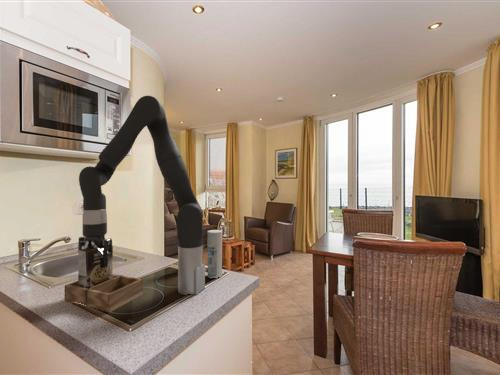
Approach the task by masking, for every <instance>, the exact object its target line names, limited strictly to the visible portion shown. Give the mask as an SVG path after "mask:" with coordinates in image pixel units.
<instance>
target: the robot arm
mask: <svg viewBox="0 0 500 375" xmlns="http://www.w3.org/2000/svg"><path fill="white" fill-rule="evenodd" d="M146 127H147V129H148V131H149V134H150V136H151V139H152V142H153V147H154V148H153V149H154V155H155V159H156V163H157V165H158V168H159V170H160V173H161V175H162V177H163V179H164V181H165V182H166V184H167V186H168V187H169V189H170V191H171V192H172V194H173V196H174V198H175V202H176V205H177V207H178V208H177V209H178V212H177V215H176V232H177V234H176V235H177V236H176V238H177V246H178V247H177V251H178V252H177V292H178V293H179V294H181V295H184V296H186V295H187V294H191V295H198V294H199V293H201V292H202V291H203V290H204V289H206V288H205V287H206V273H205V272H206V264H205V263H204V262H203V260H204V257H203V256H204V255H203V254H204V253H203V252H204V250H203V249H204V247H203V246H204V236H203V231H204V230H203V221H204V220H203V218H204V212H203V209H202V207H201V205H200V203H199V202H198V200H197V197H196V195H195V193H194V190H193V188H192V184H191V181H190V177H189V174H188V173H189V172H188V170H187V167H186V165H185V162H184V159H183V156H182V154H181V152H180V149H179V148H178V145H177V142H176V141H175V140H174V137H173V135H172V134H171V130H170V127H169V122H168V118H167V116H166V111H165V109H164V107H163V105H162V104H161V102H160V101H159V99H157V98H156V97H155V96H152V95H144V96H142V97H140V98H139V99H138V100H137V101H136V102H135V104H134V106H133V107H132V108H131V111H130V112H129V114H128V116H127V117H126V119H125V121H124V123H123V124H122V126H121V127H120V129H119V130H118V132H116V134H115V135H114V137H112V139H111V140H110V141H109V142H108V143H107V145H106V146H104V148H103V150H101V152H100V153H99V155H98V162H97V163H96V165H95V166H85V167H84V168H82V169H81V171H80V172H79V175H78V183H79V184H78V185H79V187H80V192H81V195H82V197H83V199H82V209H83V211H82V216H81V217H82V236H79V237H78V244H77V245H78V246H77V247H78V248H77V249H78V250H77V252H78V254H79V250H81V249H87V248H89V249H95V250H97V253H99V255H100V257H101V258H100V267H101V268H105V267H107V265H108V256H110V255H112V254H114V253H113V252H114V250H113V249H112V247H113V239H112V238H106V237H105V236H106V235H107V233H108V215H107V196H106V194H104V193H103V192H102V191H103V190H102V187H103V186H104V185H106V184H107V183H108V182H109V181H110V180H111V179H112V177H113V175H114V173H115V172H116V169H117V167H118V166H119V165H120V164H121V163H122V161H123V160H125V158H126V156H127V155H129V153H130V151H131V149H132V148H133V145H134V144H135V142H136V140H137V138H138V136H139V135H140V133H141V132H142V131H143V130H144V129H145V128H146ZM102 247H103V249H101V248H102ZM108 249H109V252H108ZM102 251H104V254H103V253H102Z"/></svg>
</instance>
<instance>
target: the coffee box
mask: <svg viewBox="0 0 500 375" xmlns="http://www.w3.org/2000/svg"><path fill="white" fill-rule="evenodd" d="M113 248H114V247H113V246H112V249H113ZM101 249H103V247H102V248H101ZM108 252H109V249H108ZM102 253H103V254H104V251H102ZM113 254H114V253H113ZM113 254H112V255H110V256H108V265H107V267H105V268H101V267H100V258H101V257H100V255H99V253H97V250H95V249H89V248H87V249H83V248H82V249H81V250H79V253H78V269H77V270H78V271H77V272H78V276H77V277H78V278H77V281H78V287H82V288H87V289H89V288H91V287H93V286H96V285H98V284H101V283H103V282H105V281H108V280H110V279H112V276H113V274H114V273H113V269H114V268H113V266H114V265H113V263H114V262H113V259H114V258H113V256H114V255H113Z"/></svg>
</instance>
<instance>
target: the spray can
mask: <svg viewBox="0 0 500 375" xmlns="http://www.w3.org/2000/svg"><path fill="white" fill-rule="evenodd" d="M222 266H223V230H222V229H211V230H207V277H208V278H209V279H212V278H216V279H219V278H218V277H220V278H222V276H223V267H222Z"/></svg>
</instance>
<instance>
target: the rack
mask: <svg viewBox="0 0 500 375" xmlns="http://www.w3.org/2000/svg"><path fill="white" fill-rule="evenodd" d="M143 294H144V278H138V277H135V276H126V275H121V274H116V273H113V276H112V279H110V280H108V281H105V282H103V283H101V284H98V285H96V286H93V287H91V288H89V289H87V288H82V287H78V280H76V281H73V282H70V283H68V284H67V283H66V284H65V285H64V302H66V303H69V304H73V302H77V303H81V304H84V305H86V306H89V307H88V308H90V307H93V308H92V309H94V308H96V309H95V310H98V309H99V311H103V312H106V313H112V312H113V311H115V310H117V309H118V308H120V307H122V306H124V305H126V304H128V303H129V302H132V301H133V300H134V299H137V298H139V297H140V296H142V295H143ZM86 306H85V307H86Z"/></svg>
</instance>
